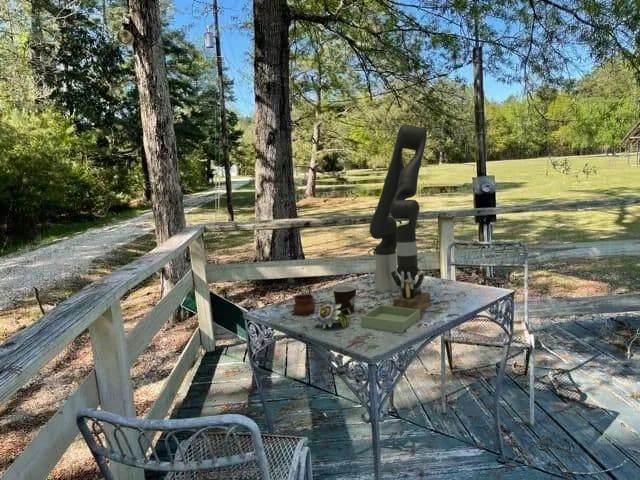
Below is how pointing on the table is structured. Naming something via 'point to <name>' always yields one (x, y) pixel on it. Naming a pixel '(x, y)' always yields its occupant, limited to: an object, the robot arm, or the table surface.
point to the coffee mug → (345, 298)
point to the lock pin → (407, 290)
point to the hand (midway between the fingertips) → (409, 297)
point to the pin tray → (390, 318)
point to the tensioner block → (414, 301)
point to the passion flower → (330, 314)
